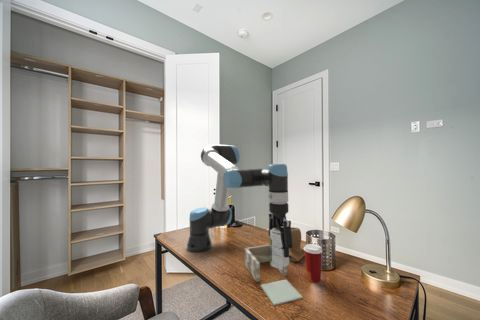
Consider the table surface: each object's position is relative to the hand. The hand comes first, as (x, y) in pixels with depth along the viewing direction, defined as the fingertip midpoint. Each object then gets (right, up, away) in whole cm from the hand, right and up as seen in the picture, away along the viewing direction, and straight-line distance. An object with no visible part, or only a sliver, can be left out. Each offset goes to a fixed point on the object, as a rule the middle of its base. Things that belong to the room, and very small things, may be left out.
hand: (280, 260), depth 78 cm
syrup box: (0, -2, 0) cm, 2 cm away
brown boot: (+14, -13, +30) cm, 36 cm away
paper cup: (+16, -13, +8) cm, 22 cm away
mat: (0, -12, 0) cm, 12 cm away
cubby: (-4, -13, +17) cm, 21 cm away
